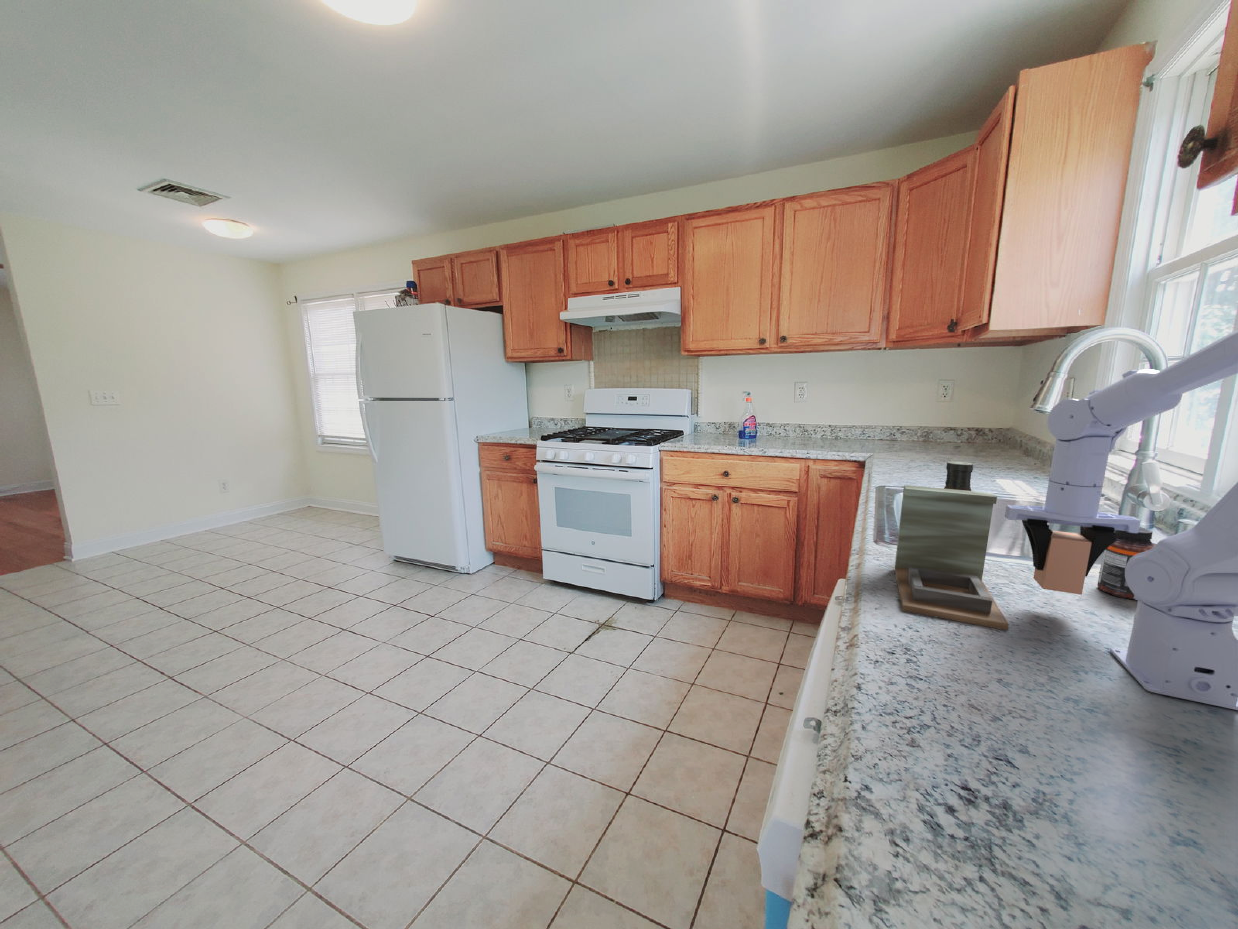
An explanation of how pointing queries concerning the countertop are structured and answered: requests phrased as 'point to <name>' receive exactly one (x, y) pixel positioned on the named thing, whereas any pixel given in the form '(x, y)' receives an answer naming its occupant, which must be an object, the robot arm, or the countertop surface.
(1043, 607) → the countertop surface
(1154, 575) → the robot arm
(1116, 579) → the supplement bottle
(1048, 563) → the peg
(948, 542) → the socket stand
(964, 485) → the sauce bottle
